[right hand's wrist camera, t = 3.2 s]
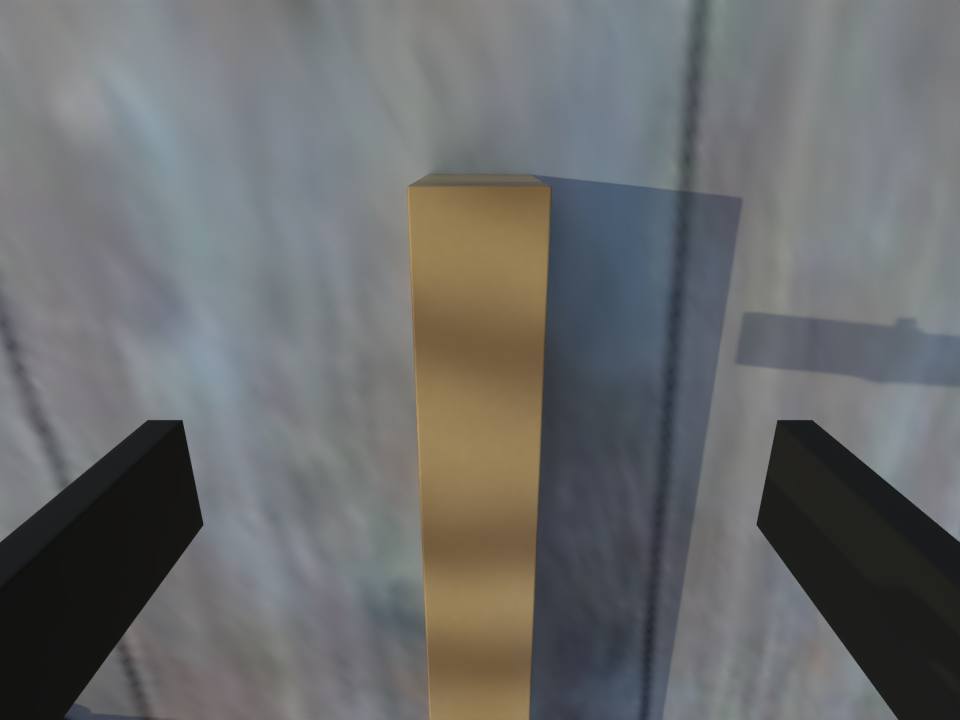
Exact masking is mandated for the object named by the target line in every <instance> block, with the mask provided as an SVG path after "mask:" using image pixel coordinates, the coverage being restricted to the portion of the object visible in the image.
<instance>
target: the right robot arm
mask: <svg viewBox="0 0 960 720" xmlns="http://www.w3.org/2000/svg"><path fill="white" fill-rule="evenodd" d="M202 526H203V520H202V515H201V510H200V505H199V500H198V495H197V490H196V485H195V480H194V475H193V470H192V465H191V460H190V455H189V450H188V445H187V440H186V435H185V430H184V425H183V420H147V421H146V422H145V423H144V424H143V425H141V426H140V427H139V428H138V429H137V430H135V431H134V432H133V433H132V434H131V435H129V436H128V437H127V438H126V439H124V440H123V441H122V442H121V443H120V444H118V445H117V446H116V447H115V448H114V449H112V450H111V451H110V452H109V453H108V454H106V455H105V456H104V457H103V458H102V459H100V460H99V461H98V462H97V463H96V464H94V465H93V466H92V467H91V468H89V469H88V470H87V471H86V472H85V473H83V474H82V475H81V476H80V477H79V478H77V479H76V480H75V481H74V482H73V483H71V484H70V485H69V486H68V487H67V488H65V489H64V490H63V491H62V492H61V493H59V494H58V495H57V496H56V497H54V498H53V499H52V500H51V501H50V502H48V503H47V504H46V505H45V506H44V507H42V508H41V509H40V510H39V511H38V512H36V513H35V514H34V515H33V516H32V517H30V518H29V519H28V520H27V521H26V522H24V523H23V524H22V525H21V526H19V527H18V528H17V529H16V530H15V531H13V532H12V533H11V534H10V535H9V536H7V537H6V538H5V539H4V540H3V541H1V542H0V720H62V718H63V717H64V716H65V714H66V713H67V712H68V710H69V709H70V707H71V706H72V705H73V703H74V702H75V701H76V699H77V698H78V696H79V695H80V694H81V692H82V691H83V690H84V688H85V687H86V685H87V684H88V683H89V681H90V680H91V679H92V677H93V676H94V674H95V673H96V672H97V670H98V669H99V668H100V666H101V665H102V664H103V662H104V661H105V659H106V658H107V657H108V655H109V654H110V653H111V651H112V650H113V648H114V647H115V646H116V644H117V643H118V642H119V640H120V639H121V637H122V636H123V635H124V633H125V632H126V631H127V629H128V628H129V626H130V625H131V624H132V622H133V621H134V620H135V618H136V617H137V615H138V614H139V613H140V611H141V610H142V609H143V607H144V606H145V604H146V603H147V602H148V600H149V599H150V598H151V596H152V595H153V593H154V592H155V591H156V589H157V588H158V587H159V585H160V584H161V582H162V581H163V580H164V578H165V577H166V576H167V574H168V573H169V571H170V570H171V569H172V567H173V566H174V565H175V563H176V562H177V560H178V559H179V558H180V556H181V555H182V554H183V552H184V551H185V549H186V548H187V547H188V545H189V544H190V543H191V541H192V540H193V539H194V537H195V536H196V534H197V533H198V532H199V530H200V529H201V528H202ZM757 526H758V528H759V529H760V530H761V532H762V533H763V534H764V536H765V537H766V539H767V540H768V541H769V543H770V544H771V545H772V547H773V548H774V549H775V551H776V552H777V554H778V555H779V556H780V558H781V559H782V560H783V562H784V563H785V565H786V566H787V567H788V569H789V570H790V571H791V573H792V574H793V576H794V577H795V578H796V580H797V581H798V582H799V584H800V585H801V587H802V588H803V589H804V591H805V592H806V593H807V595H808V596H809V598H810V599H811V600H812V602H813V603H814V604H815V606H816V607H817V609H818V610H819V611H820V613H821V614H822V615H823V617H824V618H825V620H826V621H827V622H828V624H829V625H830V626H831V628H832V629H833V631H834V632H835V633H836V635H837V636H838V637H839V639H840V640H841V642H842V643H843V644H844V646H845V647H846V648H847V650H848V651H849V653H850V654H851V655H852V657H853V658H854V659H855V661H856V662H857V664H858V665H859V666H860V668H861V669H862V670H863V672H864V673H865V674H866V676H867V677H868V679H869V680H870V681H871V683H872V684H873V685H874V687H875V688H876V690H877V691H878V692H879V694H880V695H881V696H882V698H883V699H884V701H885V702H886V703H887V705H888V706H889V707H890V709H891V710H892V712H893V713H894V714H895V716H896V717H897V718H898V720H960V542H959V541H957V540H956V539H955V538H954V537H953V536H951V535H950V534H949V533H948V532H947V531H945V530H944V529H943V528H942V527H941V526H939V525H938V524H937V523H936V522H934V521H933V520H932V519H931V518H930V517H928V516H927V515H926V514H925V513H924V512H922V511H921V510H920V509H919V508H918V507H916V506H915V505H914V504H913V503H912V502H910V501H909V500H908V499H907V498H906V497H904V496H903V495H902V494H901V493H899V492H898V491H897V490H896V489H895V488H893V487H892V486H891V485H890V484H889V483H887V482H886V481H885V480H884V479H883V478H881V477H880V476H879V475H878V474H877V473H875V472H874V471H873V470H872V469H871V468H869V467H868V466H867V465H866V464H864V463H863V462H862V461H861V460H860V459H858V458H857V457H856V456H855V455H854V454H852V453H851V452H850V451H849V450H848V449H846V448H845V447H844V446H843V445H842V444H840V443H839V442H838V441H837V440H836V439H834V438H833V437H832V436H831V435H829V434H828V433H827V432H826V431H825V430H823V429H822V428H821V427H820V426H819V425H817V424H816V423H815V422H814V421H813V420H777V425H776V430H775V435H774V440H773V445H772V450H771V455H770V460H769V465H768V470H767V475H766V480H765V485H764V490H763V495H762V500H761V505H760V510H759V515H758V520H757Z"/></svg>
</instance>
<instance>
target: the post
mask: <svg viewBox="0 0 960 720" xmlns="http://www.w3.org/2000/svg"><path fill="white" fill-rule="evenodd" d="M551 196H552V187H551V186H550V185H548V184H546V183H544V182H543V181H541V180H539V179H538V178H536V177H534V176H532V175H427V176H425V177H423V178H422V179H420V180H418V181H416V182H415V183H413V184H411V185H409V186H408V187H407V200H408V224H409V247H410V271H411V294H412V318H413V341H414V365H415V388H416V412H417V435H418V459H419V482H420V506H421V529H422V552H423V576H424V599H425V623H426V646H427V670H428V693H429V717H430V720H530V697H531V673H532V649H533V625H534V601H535V578H536V554H537V530H538V506H539V482H540V458H541V435H542V411H543V387H544V363H545V339H546V315H547V292H548V268H549V244H550V220H551Z"/></svg>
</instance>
